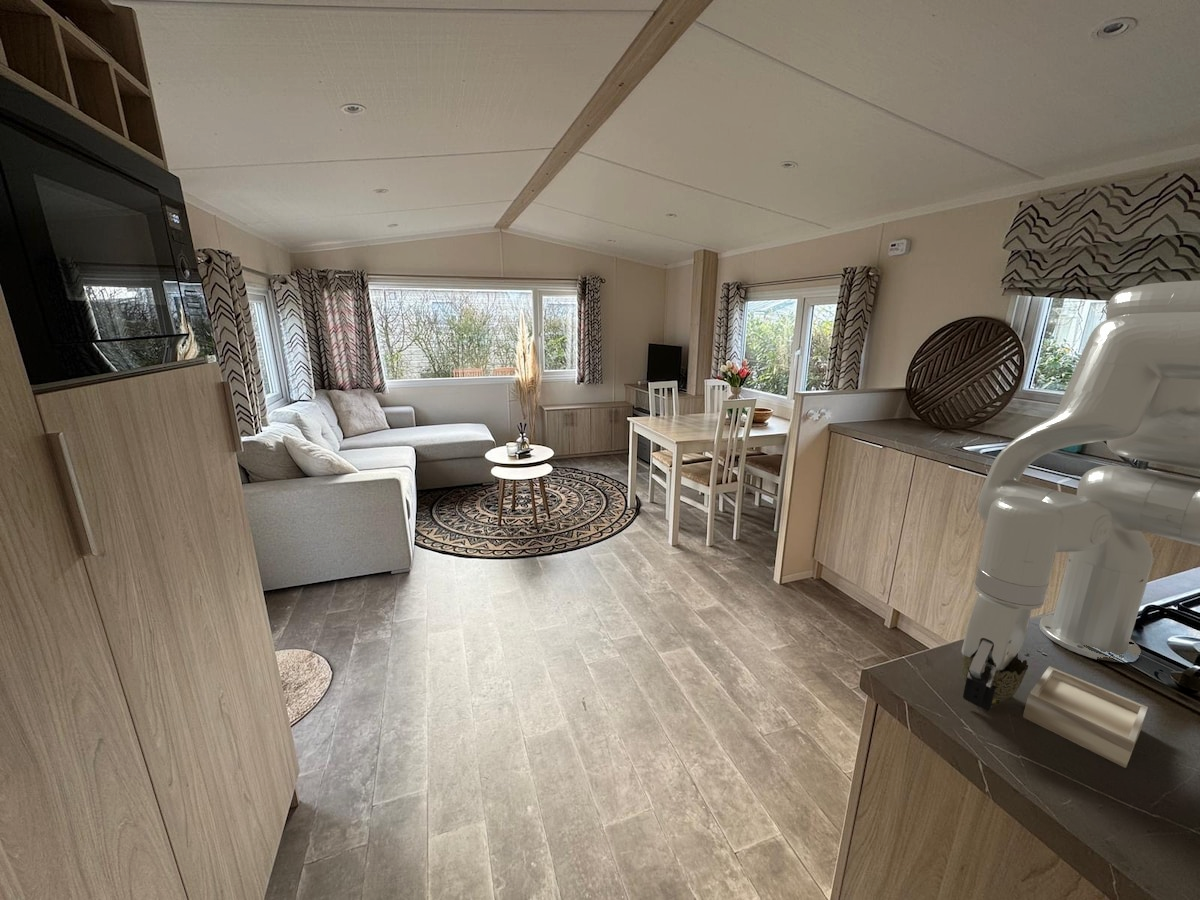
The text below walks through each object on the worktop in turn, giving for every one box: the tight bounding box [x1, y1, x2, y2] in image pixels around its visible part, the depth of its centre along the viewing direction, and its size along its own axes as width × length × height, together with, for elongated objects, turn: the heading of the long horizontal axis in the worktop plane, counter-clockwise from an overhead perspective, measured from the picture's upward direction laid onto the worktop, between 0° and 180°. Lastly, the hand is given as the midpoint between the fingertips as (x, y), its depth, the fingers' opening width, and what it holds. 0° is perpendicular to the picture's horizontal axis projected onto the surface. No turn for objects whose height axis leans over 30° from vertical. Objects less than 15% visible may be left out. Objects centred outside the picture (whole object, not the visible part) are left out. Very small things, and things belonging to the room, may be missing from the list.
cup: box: [961, 640, 1029, 708], centre depth 71 cm, size 8×7×8 cm
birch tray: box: [1022, 665, 1149, 769], centre depth 67 cm, size 10×10×4 cm
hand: (985, 692), depth 72 cm, fingers closed on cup, 6 cm apart
